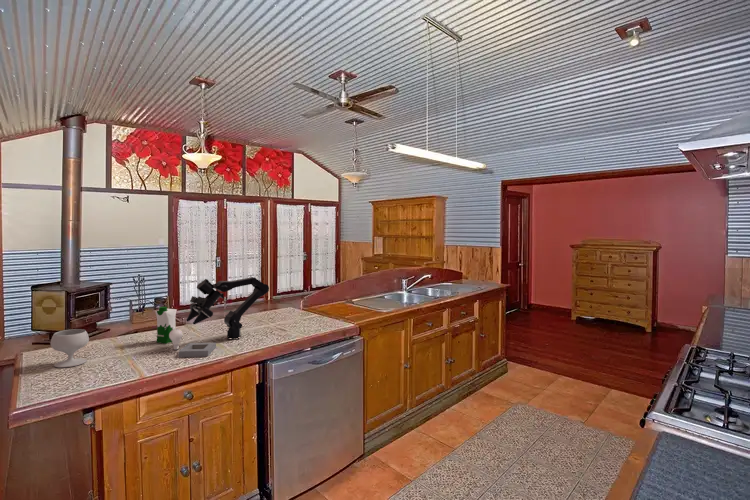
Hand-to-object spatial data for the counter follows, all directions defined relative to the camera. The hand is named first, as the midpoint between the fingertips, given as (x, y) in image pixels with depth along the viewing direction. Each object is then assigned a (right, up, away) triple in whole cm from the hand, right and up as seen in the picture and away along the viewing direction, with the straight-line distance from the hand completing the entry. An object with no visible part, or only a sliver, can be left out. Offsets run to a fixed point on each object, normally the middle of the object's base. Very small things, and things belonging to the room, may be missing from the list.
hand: (190, 322), depth 206 cm
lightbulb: (-5, -14, -5) cm, 15 cm away
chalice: (-43, -14, -27) cm, 53 cm away
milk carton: (-18, -13, +10) cm, 24 cm away
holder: (+8, -14, -9) cm, 19 cm away
